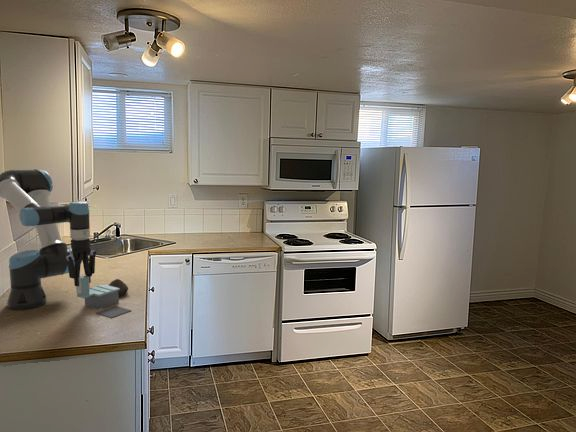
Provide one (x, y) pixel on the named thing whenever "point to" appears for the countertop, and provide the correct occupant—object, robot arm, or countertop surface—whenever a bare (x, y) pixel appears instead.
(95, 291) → the pale blue ridged block
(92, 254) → the robot arm
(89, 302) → the tub
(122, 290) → the stone
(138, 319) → the countertop surface
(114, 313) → the mat
